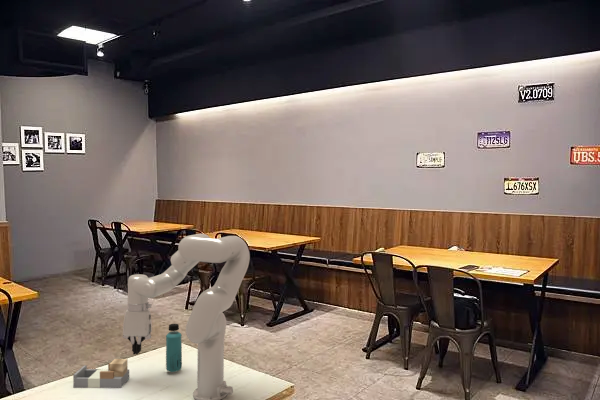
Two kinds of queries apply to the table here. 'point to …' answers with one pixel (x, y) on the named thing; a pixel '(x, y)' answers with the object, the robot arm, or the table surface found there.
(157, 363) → the table surface
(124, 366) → the maple block
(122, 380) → the grey open boxy piece
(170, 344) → the beverage bottle
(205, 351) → the robot arm
